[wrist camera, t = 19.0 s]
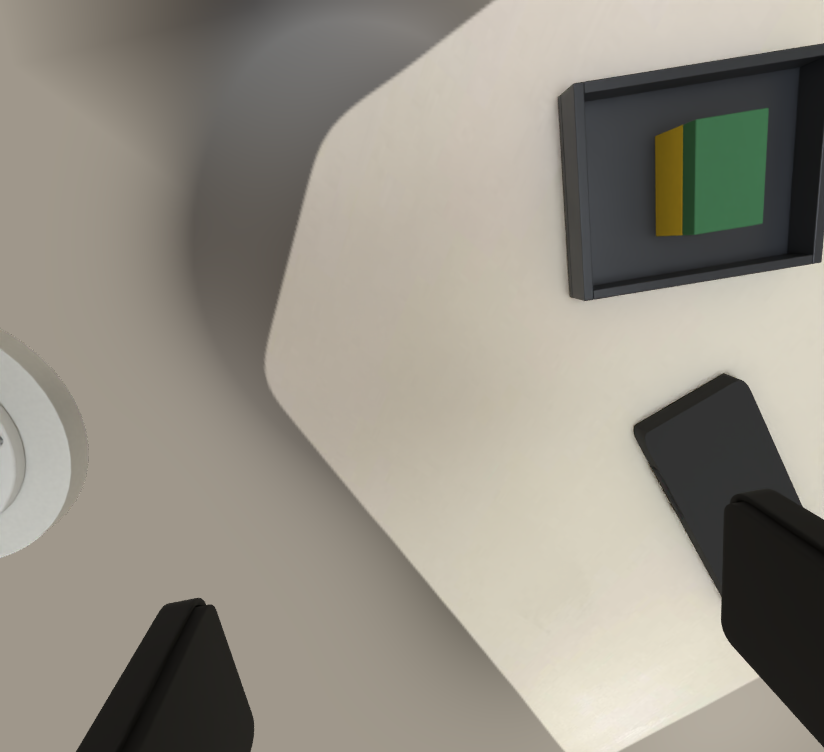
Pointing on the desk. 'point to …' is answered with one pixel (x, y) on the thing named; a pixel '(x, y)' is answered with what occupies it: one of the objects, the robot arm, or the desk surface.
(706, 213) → the sponge
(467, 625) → the desk surface
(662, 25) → the desk surface
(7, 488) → the robot arm
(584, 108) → the pan
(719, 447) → the smart home device
